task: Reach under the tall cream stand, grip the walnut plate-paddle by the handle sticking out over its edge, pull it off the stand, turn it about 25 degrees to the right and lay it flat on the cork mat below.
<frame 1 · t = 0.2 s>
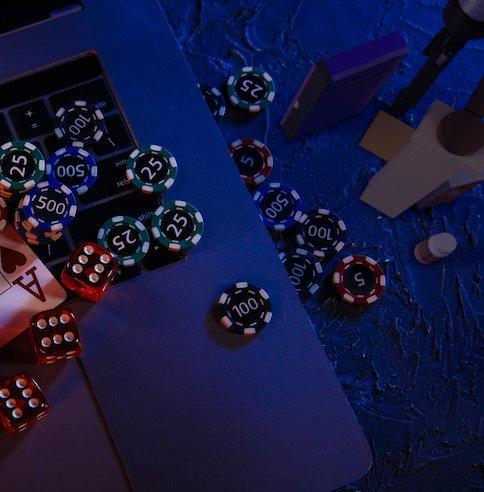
hand: (412, 84, 107), 28 cm above the table, tool pointing down, fingers open, 13 cm apart
pill bottle: (425, 253, 128), on the table
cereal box: (319, 118, 136), on the table
paddle: (459, 135, 102), point 30 cm above the table, touching stand
mat: (393, 141, 135), on the table
stand: (382, 197, 131), on the table
small box: (429, 192, 132), on the table
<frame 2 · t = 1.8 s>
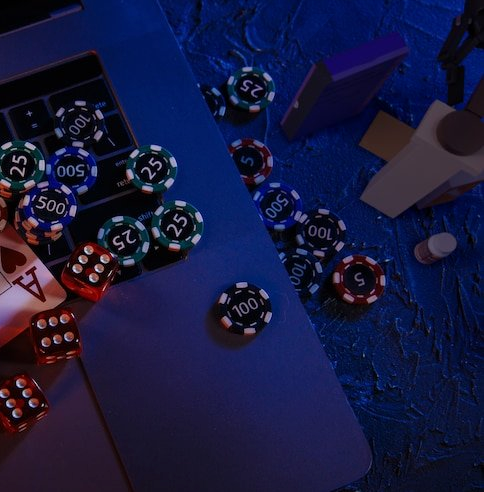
nothing on the table moved.
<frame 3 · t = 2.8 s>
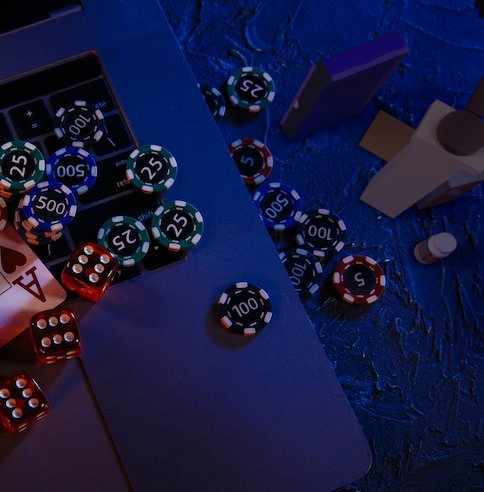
nothing on the table moved.
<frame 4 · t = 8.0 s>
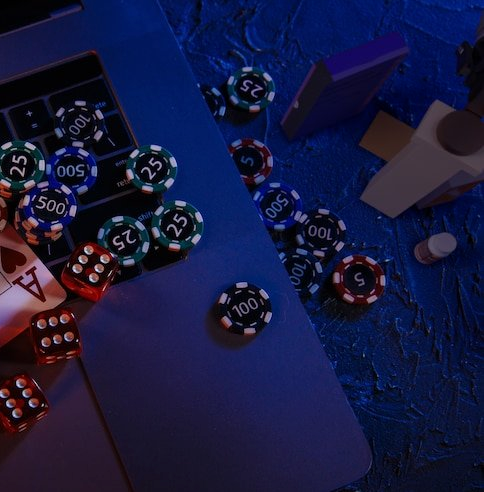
paddle: (459, 135, 102), point 30 cm above the table, touching gripper, stand
everything else where it was.
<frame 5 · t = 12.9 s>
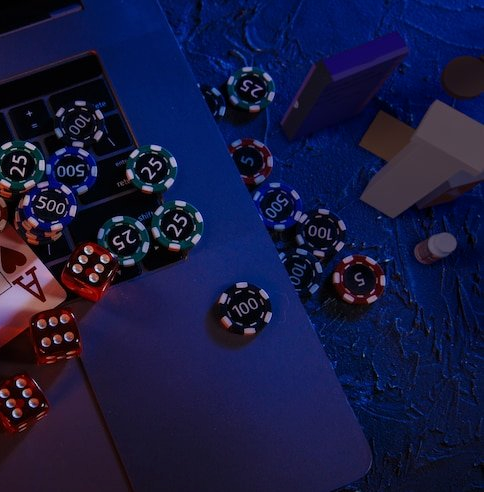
paddle: (463, 79, 108), point 28 cm above the table, tilted 9°, touching gripper
everything else where it was.
when the fingers open (7 cm above the table, at t = 18.2 s): paddle drops 1 cm, resting on mat.
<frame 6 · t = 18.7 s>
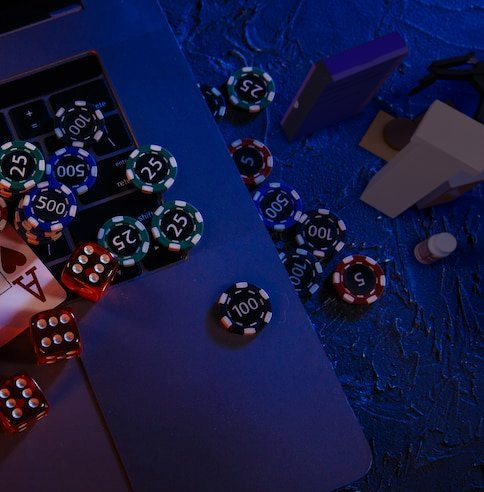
hand: (428, 114, 129), 7 cm above the table, tool horizontal, fingers open, 11 cm apart
paddle: (400, 136, 134), point 1 cm above the table, touching mat
everything else where it was.
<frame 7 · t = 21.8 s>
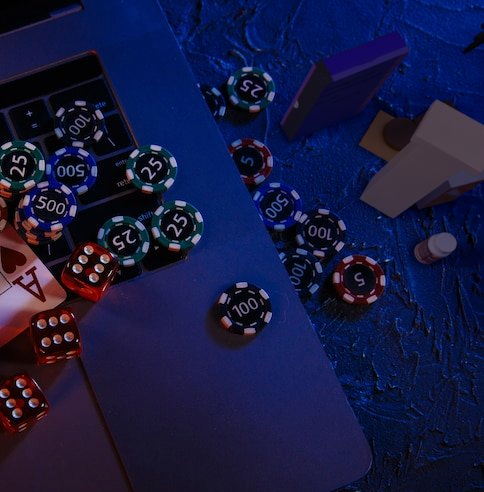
nothing on the table moved.
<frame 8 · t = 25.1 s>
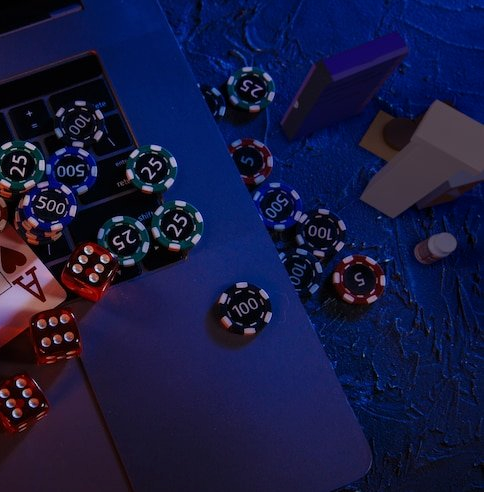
nothing on the table moved.
at the end: paddle inside the target area on the mat (2.3 cm from its centre), point 0.5 cm above the mat's base; paddle tilted 2°; paddle touching mat, table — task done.
